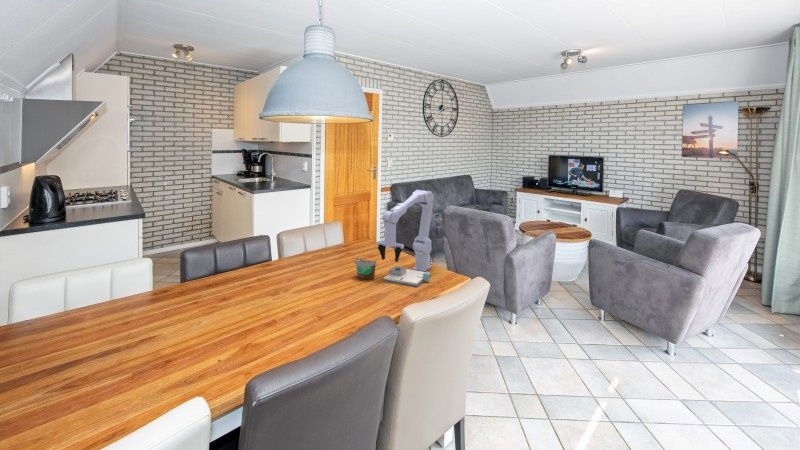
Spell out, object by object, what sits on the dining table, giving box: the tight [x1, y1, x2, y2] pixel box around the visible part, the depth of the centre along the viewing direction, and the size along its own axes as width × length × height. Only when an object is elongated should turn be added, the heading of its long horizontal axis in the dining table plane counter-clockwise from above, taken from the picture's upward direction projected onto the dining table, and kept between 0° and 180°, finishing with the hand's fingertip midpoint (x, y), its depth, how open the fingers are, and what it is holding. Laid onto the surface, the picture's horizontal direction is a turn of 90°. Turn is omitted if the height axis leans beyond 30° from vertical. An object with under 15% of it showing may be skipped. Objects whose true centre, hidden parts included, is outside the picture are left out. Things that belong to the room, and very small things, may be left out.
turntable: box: [383, 268, 431, 285], centre depth 211 cm, size 18×21×4 cm
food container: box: [354, 257, 377, 281], centre depth 210 cm, size 12×6×10 cm, turn 62°
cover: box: [389, 265, 407, 276], centre depth 214 cm, size 6×6×4 cm
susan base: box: [382, 274, 432, 288], centre depth 212 cm, size 19×19×1 cm
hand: (390, 260), depth 211 cm, fingers open, 7 cm apart
